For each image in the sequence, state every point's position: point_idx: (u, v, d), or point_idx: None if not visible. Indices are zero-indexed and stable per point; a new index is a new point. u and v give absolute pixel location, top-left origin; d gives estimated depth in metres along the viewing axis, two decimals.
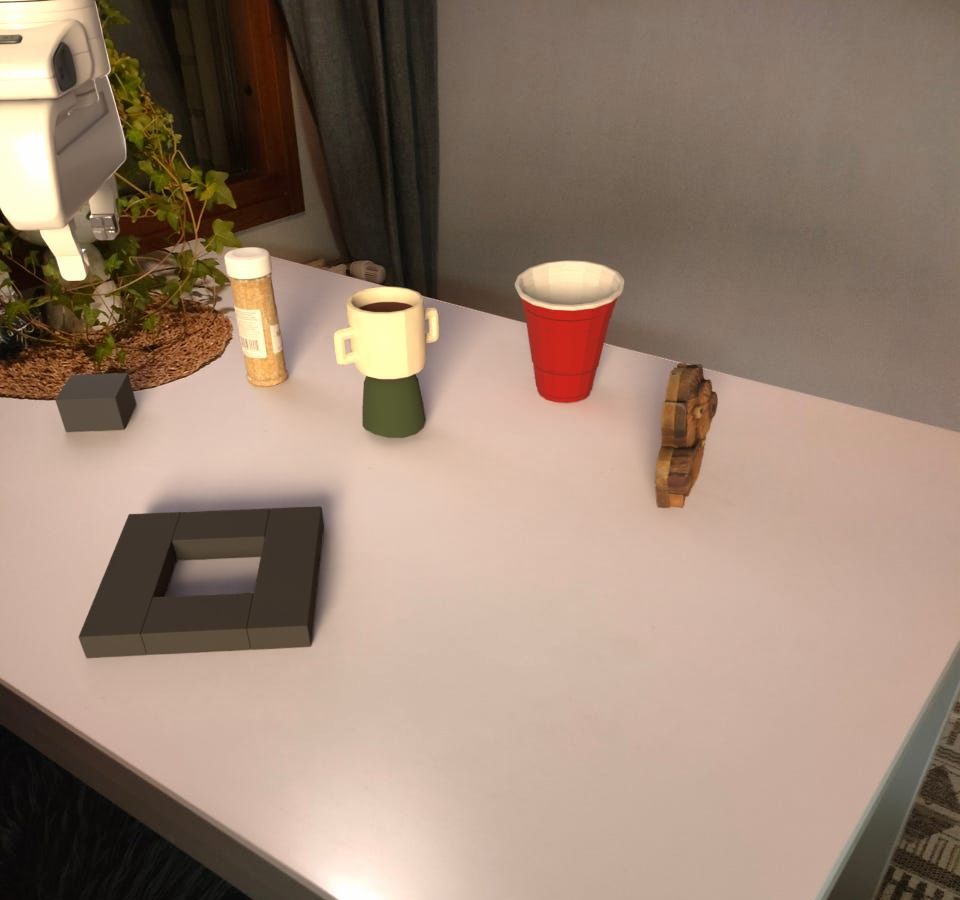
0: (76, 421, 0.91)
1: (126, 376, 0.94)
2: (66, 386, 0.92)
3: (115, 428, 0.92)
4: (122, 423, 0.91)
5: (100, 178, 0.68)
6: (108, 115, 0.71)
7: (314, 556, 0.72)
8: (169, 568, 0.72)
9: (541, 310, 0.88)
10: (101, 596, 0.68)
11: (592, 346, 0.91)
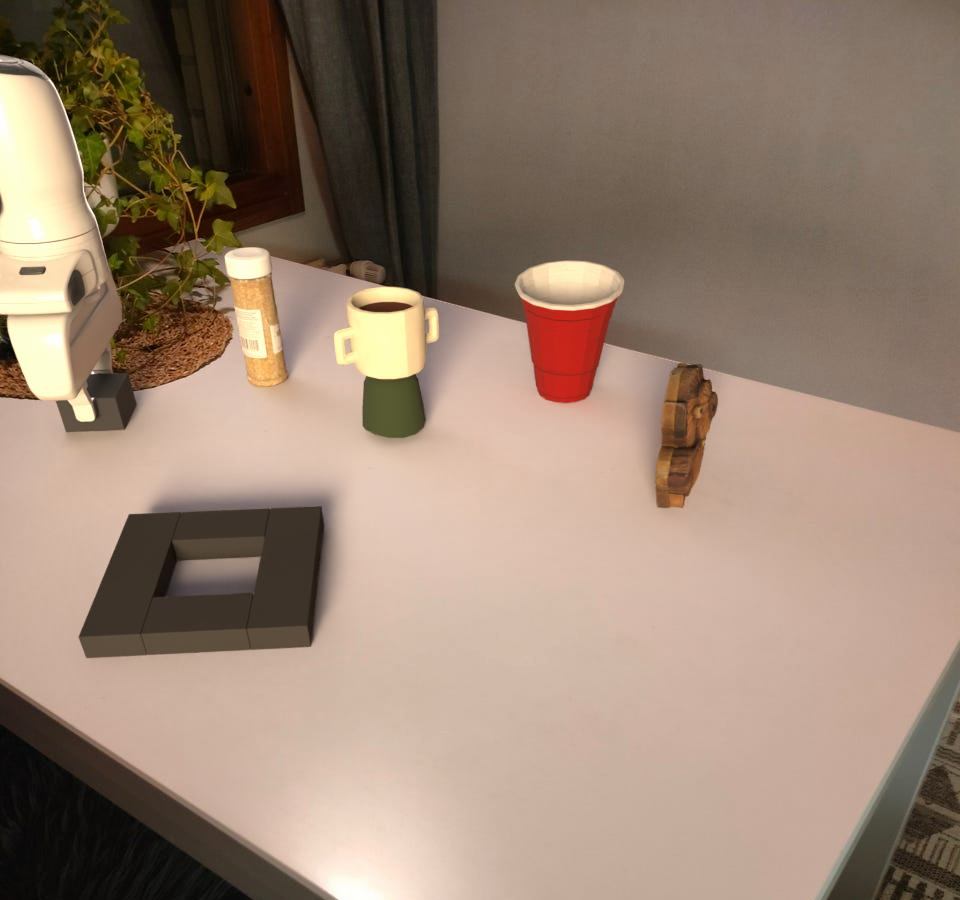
0: (76, 421, 0.91)
1: (126, 376, 0.94)
2: None
3: (115, 428, 0.92)
4: (122, 423, 0.91)
5: (102, 347, 0.90)
6: (108, 294, 0.92)
7: (314, 556, 0.72)
8: (169, 568, 0.72)
9: (541, 310, 0.88)
10: (101, 596, 0.68)
11: (592, 346, 0.91)
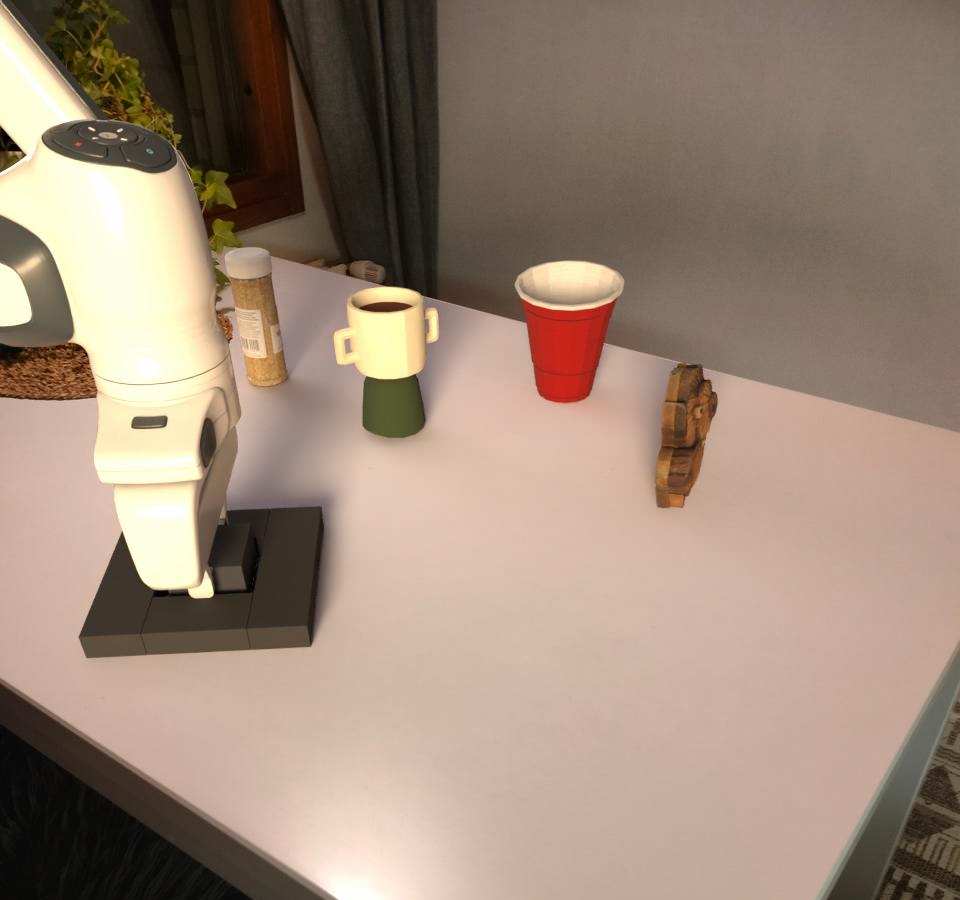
0: (187, 594, 0.69)
1: (249, 529, 0.71)
2: None
3: None
4: None
5: (223, 499, 0.68)
6: None
7: (314, 556, 0.72)
8: None
9: (541, 310, 0.88)
10: (101, 596, 0.68)
11: (592, 346, 0.91)
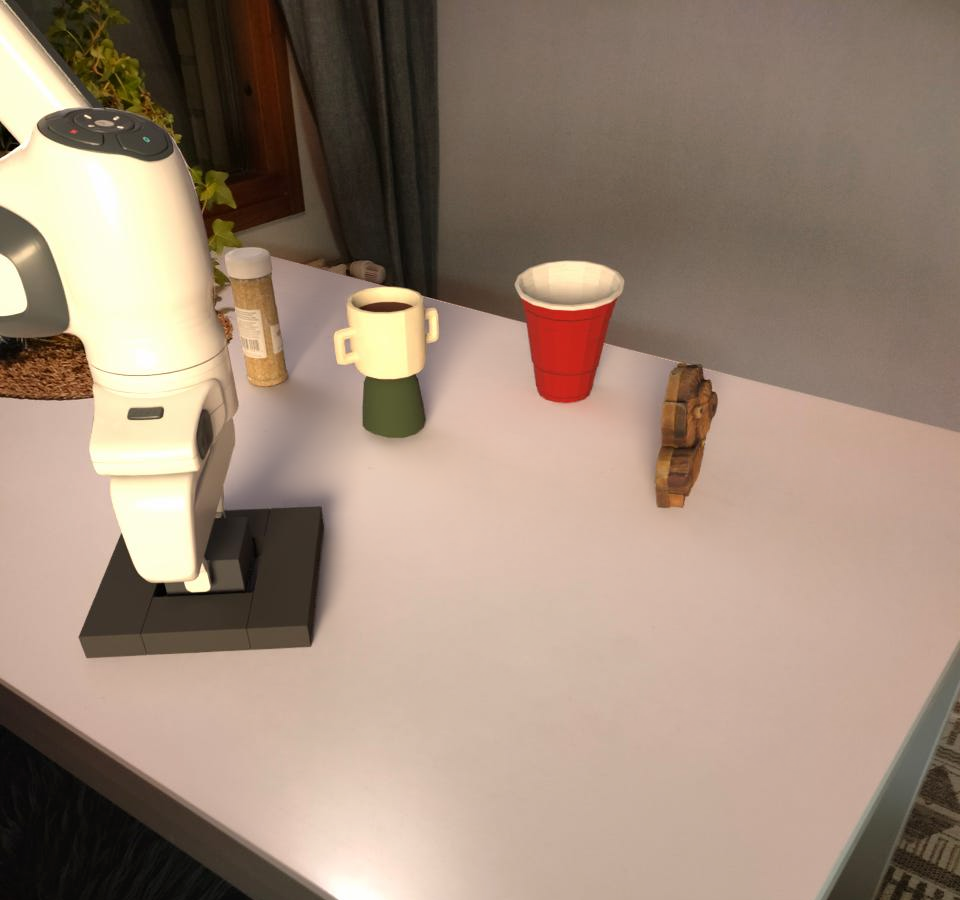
0: (184, 587, 0.68)
1: (246, 523, 0.71)
2: None
3: None
4: (244, 589, 0.69)
5: (220, 492, 0.67)
6: None
7: (314, 556, 0.72)
8: None
9: (541, 310, 0.88)
10: (101, 596, 0.68)
11: (592, 346, 0.91)
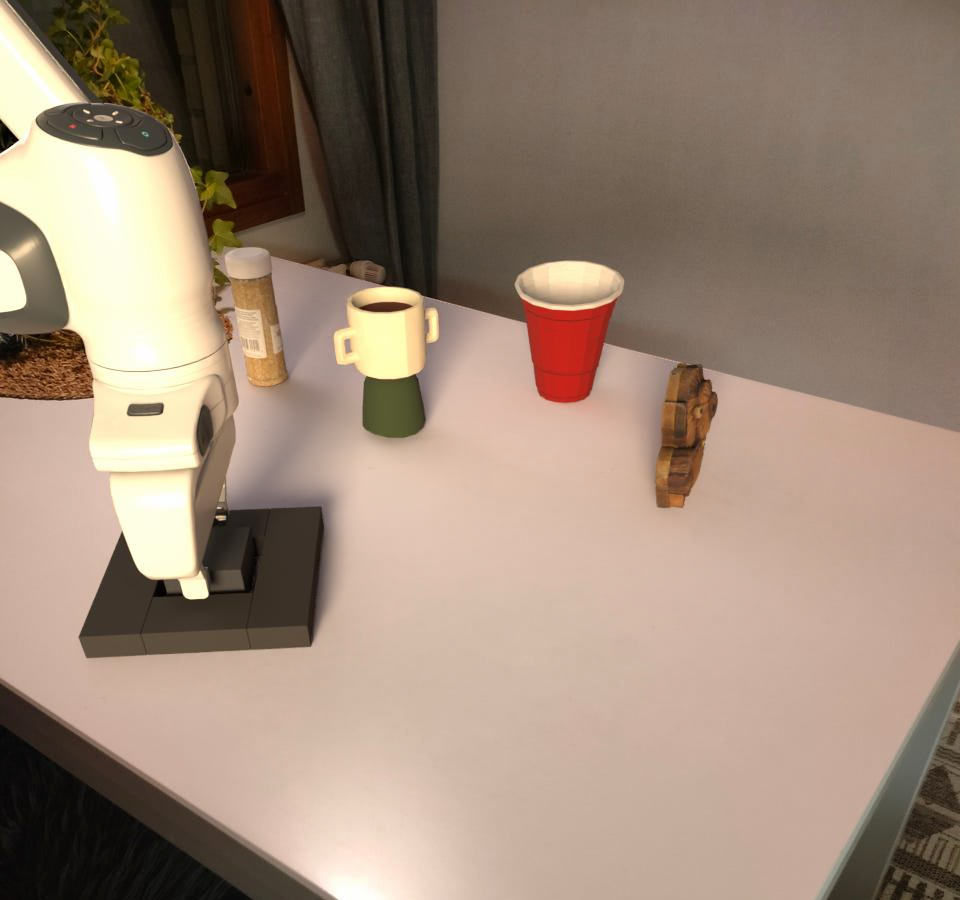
0: None
1: (248, 533, 0.71)
2: None
3: None
4: None
5: (220, 489, 0.67)
6: None
7: (314, 556, 0.72)
8: None
9: (541, 310, 0.88)
10: (101, 596, 0.68)
11: (592, 346, 0.91)
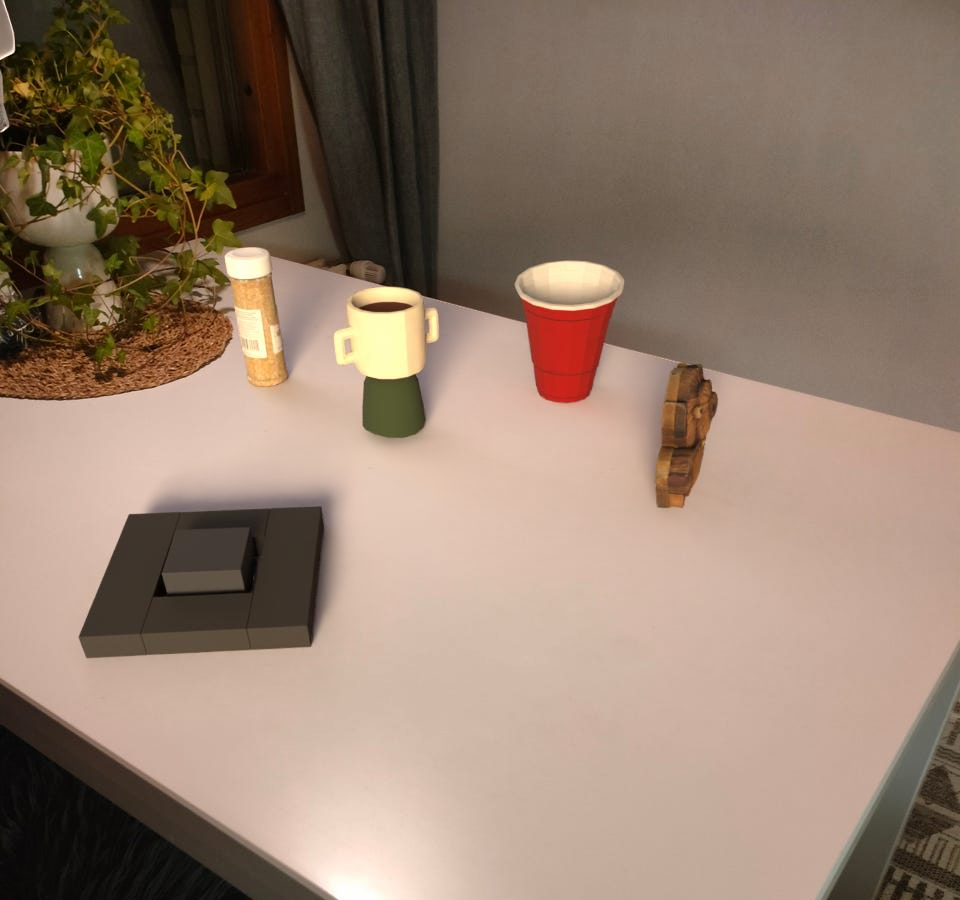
0: None
1: (248, 533, 0.71)
2: (172, 551, 0.70)
3: None
4: None
5: None
6: None
7: (314, 556, 0.72)
8: None
9: (541, 310, 0.88)
10: (101, 596, 0.68)
11: (592, 346, 0.91)
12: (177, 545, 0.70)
